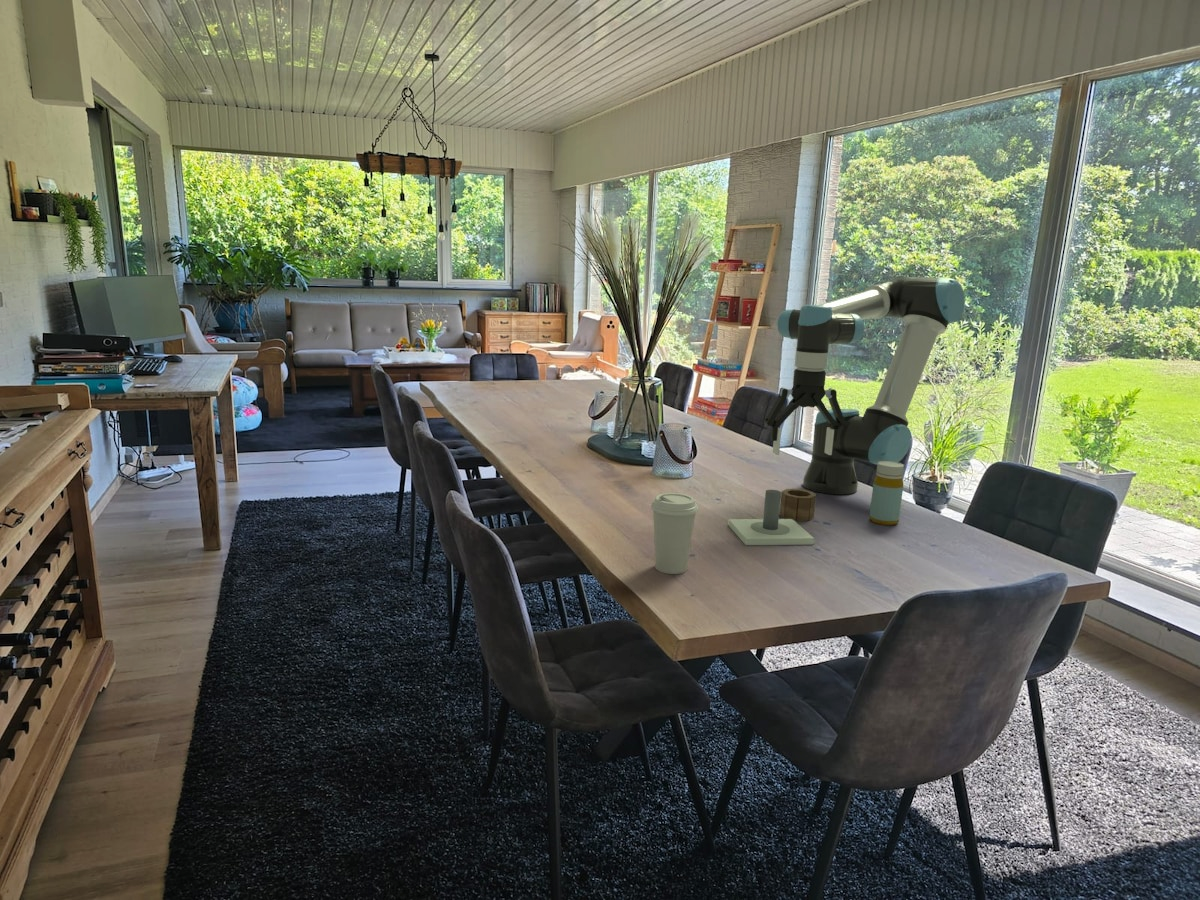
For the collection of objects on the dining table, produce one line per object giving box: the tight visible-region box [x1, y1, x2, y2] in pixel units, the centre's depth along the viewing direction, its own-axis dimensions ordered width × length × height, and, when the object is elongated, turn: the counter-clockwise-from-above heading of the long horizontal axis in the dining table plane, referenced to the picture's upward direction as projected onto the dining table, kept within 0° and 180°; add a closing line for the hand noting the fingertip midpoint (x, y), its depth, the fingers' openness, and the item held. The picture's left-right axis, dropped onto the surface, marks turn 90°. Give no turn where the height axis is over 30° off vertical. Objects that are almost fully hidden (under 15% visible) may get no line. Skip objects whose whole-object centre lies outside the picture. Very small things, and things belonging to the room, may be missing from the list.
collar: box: [779, 488, 817, 522], centre depth 196 cm, size 8×8×6 cm
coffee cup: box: [650, 492, 699, 575], centre depth 157 cm, size 10×10×15 cm
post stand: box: [728, 489, 815, 546], centre depth 180 cm, size 16×14×10 cm
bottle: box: [869, 461, 905, 526], centre depth 193 cm, size 7×7×15 cm
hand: (802, 453), depth 193 cm, fingers open, 13 cm apart
